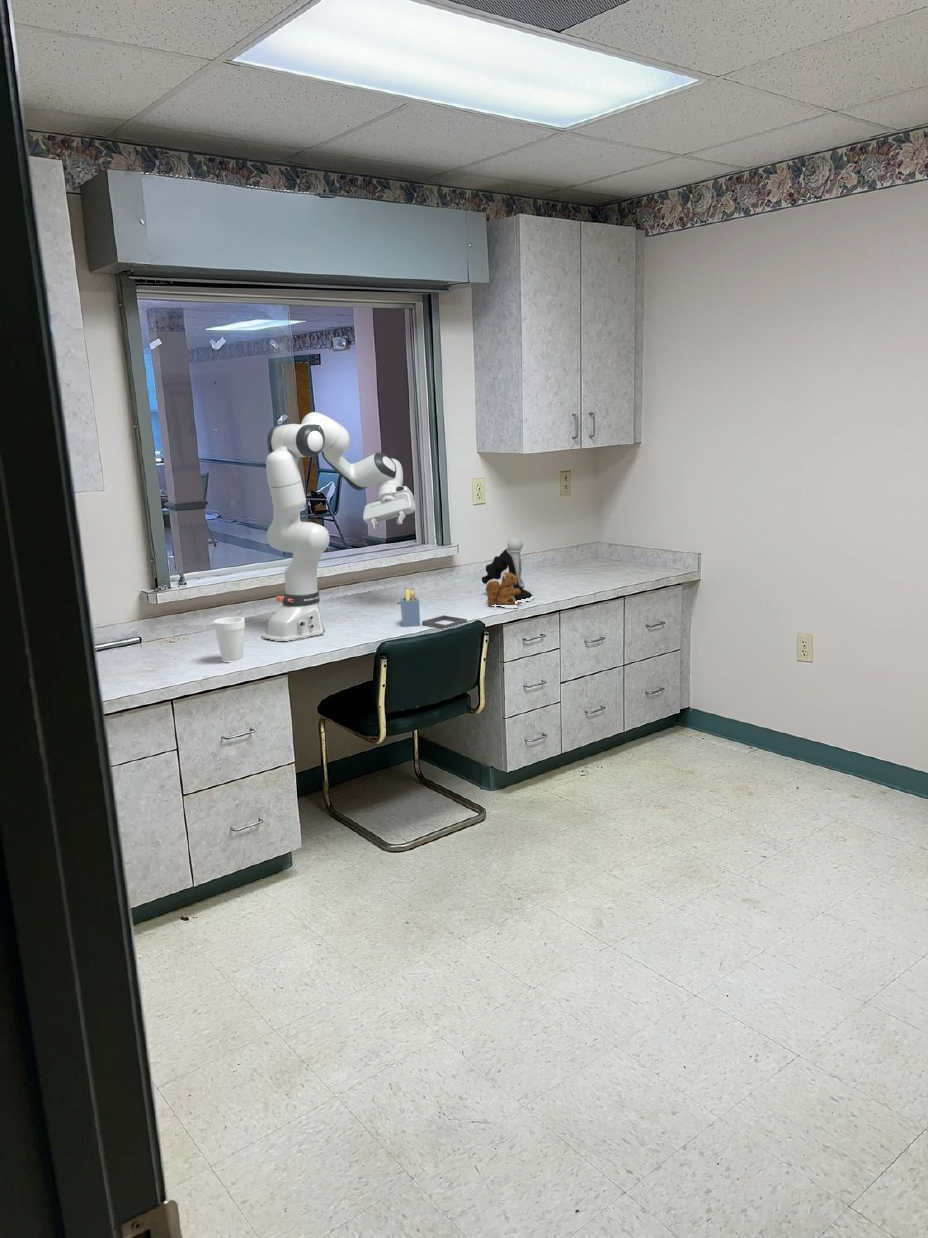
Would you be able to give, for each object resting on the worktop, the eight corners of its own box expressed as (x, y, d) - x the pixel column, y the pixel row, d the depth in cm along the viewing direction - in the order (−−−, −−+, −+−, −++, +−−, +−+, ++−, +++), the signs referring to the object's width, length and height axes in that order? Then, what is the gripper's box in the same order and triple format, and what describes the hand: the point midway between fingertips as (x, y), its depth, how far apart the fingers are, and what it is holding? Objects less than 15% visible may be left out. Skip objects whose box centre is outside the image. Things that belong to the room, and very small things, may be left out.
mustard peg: (408, 626, 326) (407, 590, 323) (405, 625, 327) (404, 589, 324) (411, 625, 327) (410, 589, 324) (408, 624, 328) (407, 588, 325)
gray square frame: (445, 631, 319) (445, 625, 319) (422, 627, 326) (422, 621, 326) (467, 625, 327) (466, 619, 327) (443, 621, 334) (443, 615, 334)
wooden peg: (413, 625, 327) (412, 589, 324) (410, 624, 328) (409, 588, 325) (416, 624, 328) (415, 588, 325) (413, 623, 329) (412, 587, 326)
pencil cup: (403, 629, 325) (401, 601, 323) (401, 625, 331) (400, 598, 328) (420, 628, 326) (418, 600, 323) (418, 624, 331) (417, 597, 329)
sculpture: (518, 604, 358) (517, 541, 353) (471, 598, 373) (469, 537, 367) (541, 598, 370) (540, 536, 364) (494, 592, 384) (492, 532, 379)
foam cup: (250, 656, 295) (247, 616, 292) (245, 663, 286) (241, 623, 283) (220, 657, 295) (217, 617, 292) (214, 664, 286) (210, 624, 283)
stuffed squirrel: (519, 609, 351) (518, 575, 348) (482, 608, 353) (482, 575, 350) (522, 603, 360) (522, 570, 357) (487, 603, 363) (486, 570, 360)
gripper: (361, 498, 345) (358, 528, 338) (410, 485, 338) (408, 514, 331) (369, 508, 350) (366, 537, 343) (417, 495, 343) (416, 524, 335)
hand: (387, 526), depth 337 cm, fingers open, 8 cm apart
